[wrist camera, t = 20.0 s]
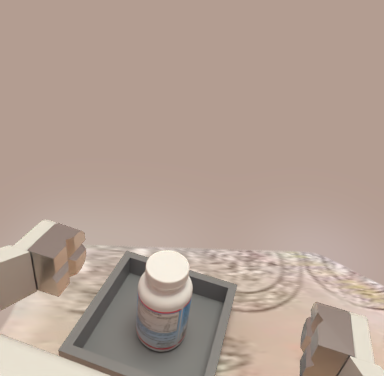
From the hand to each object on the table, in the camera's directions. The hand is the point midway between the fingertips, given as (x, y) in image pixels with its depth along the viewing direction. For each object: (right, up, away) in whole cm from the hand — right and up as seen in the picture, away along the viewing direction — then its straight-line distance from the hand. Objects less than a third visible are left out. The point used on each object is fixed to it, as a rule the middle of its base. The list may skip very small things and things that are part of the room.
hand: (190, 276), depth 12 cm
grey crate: (-4, -15, +31) cm, 35 cm away
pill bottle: (-4, -15, +31) cm, 34 cm away
